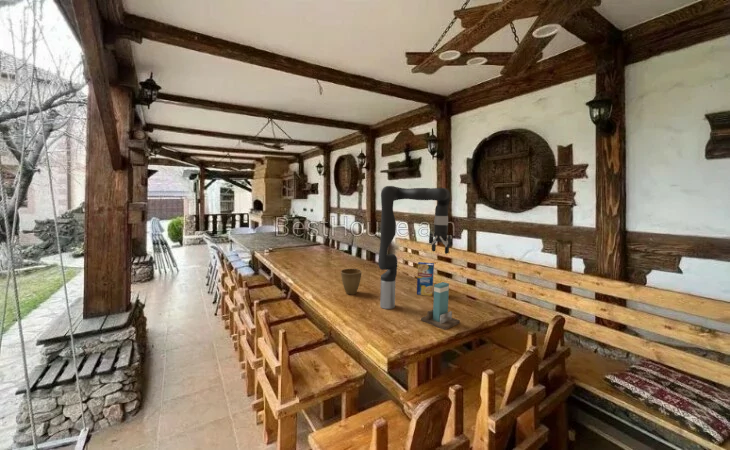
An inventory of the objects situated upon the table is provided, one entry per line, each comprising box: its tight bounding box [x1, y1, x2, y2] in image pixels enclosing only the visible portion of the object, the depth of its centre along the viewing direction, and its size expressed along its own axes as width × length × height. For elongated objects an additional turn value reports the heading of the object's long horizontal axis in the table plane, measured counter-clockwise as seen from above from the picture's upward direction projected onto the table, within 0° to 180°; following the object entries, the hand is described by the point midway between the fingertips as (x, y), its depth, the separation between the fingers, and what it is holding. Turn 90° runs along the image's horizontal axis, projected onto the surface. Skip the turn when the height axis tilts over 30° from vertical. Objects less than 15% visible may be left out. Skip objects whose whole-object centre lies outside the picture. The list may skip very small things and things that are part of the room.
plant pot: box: [340, 268, 363, 295], centre depth 223 cm, size 15×15×16 cm
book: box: [432, 281, 450, 322], centre depth 174 cm, size 8×4×20 cm, turn 130°
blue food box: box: [416, 261, 435, 297], centre depth 223 cm, size 7×11×22 cm, turn 74°
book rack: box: [420, 309, 461, 331], centre depth 175 cm, size 14×16×6 cm
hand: (440, 252), depth 178 cm, fingers open, 8 cm apart
